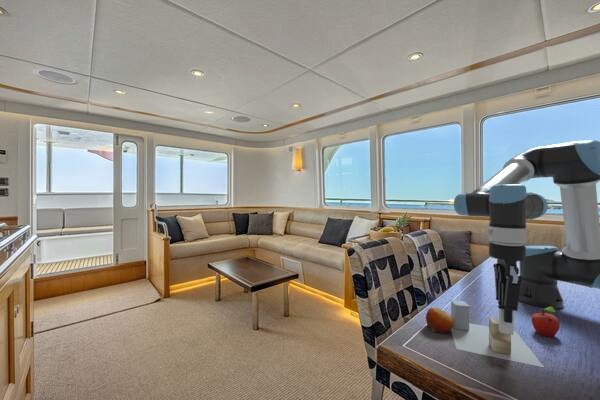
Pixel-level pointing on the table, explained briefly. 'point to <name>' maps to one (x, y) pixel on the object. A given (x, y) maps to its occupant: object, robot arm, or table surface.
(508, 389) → the table surface
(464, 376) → the table surface
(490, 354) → the felt mat
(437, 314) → the fruit
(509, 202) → the robot arm
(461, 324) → the slate block
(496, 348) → the beech block
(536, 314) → the apple
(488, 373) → the table surface
